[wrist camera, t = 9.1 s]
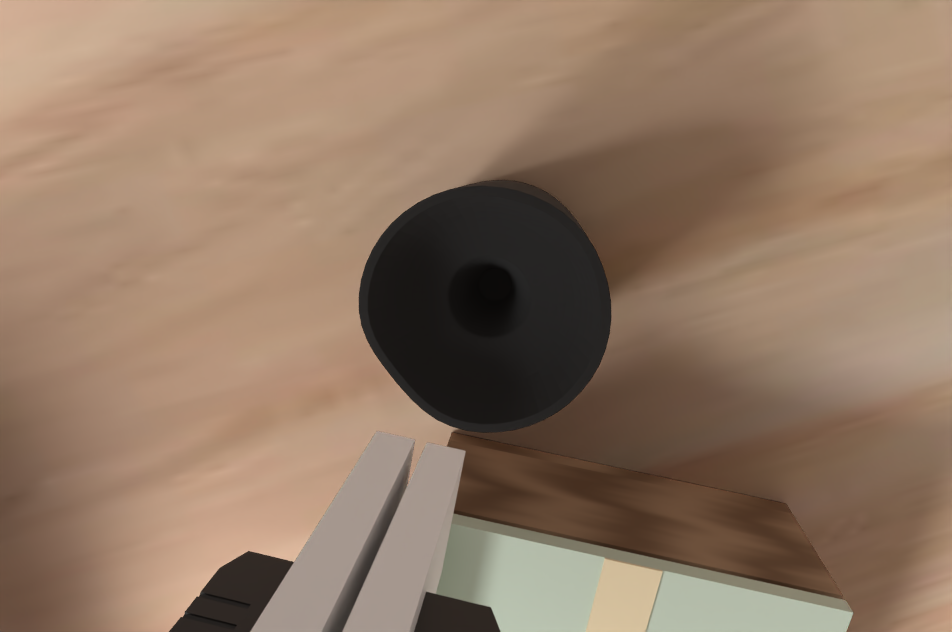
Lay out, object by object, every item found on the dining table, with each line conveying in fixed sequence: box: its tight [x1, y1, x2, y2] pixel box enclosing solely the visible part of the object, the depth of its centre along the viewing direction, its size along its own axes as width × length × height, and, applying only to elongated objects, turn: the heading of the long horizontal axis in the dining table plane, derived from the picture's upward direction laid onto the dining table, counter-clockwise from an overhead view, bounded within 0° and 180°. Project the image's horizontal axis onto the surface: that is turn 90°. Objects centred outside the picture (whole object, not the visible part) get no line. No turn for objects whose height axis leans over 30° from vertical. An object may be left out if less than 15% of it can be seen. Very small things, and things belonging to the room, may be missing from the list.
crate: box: [447, 432, 843, 599], centre depth 36 cm, size 18×13×8 cm
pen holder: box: [359, 180, 611, 432], centre depth 31 cm, size 9×9×10 cm
